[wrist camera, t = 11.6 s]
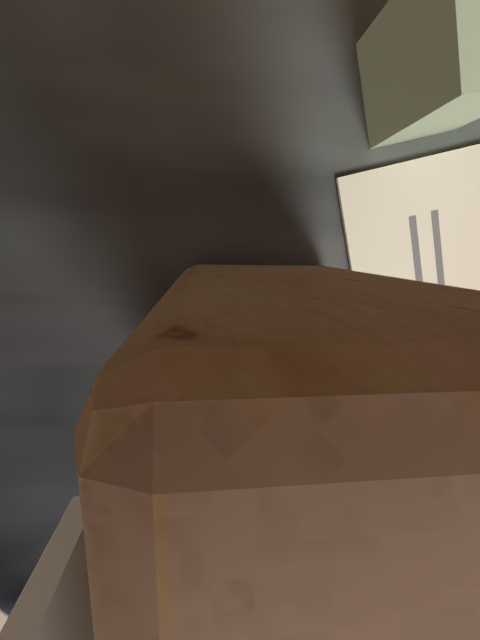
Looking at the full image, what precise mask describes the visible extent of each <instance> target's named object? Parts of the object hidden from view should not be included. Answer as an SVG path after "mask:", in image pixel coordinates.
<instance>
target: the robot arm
mask: <svg viewBox="0 0 480 640" xmlns="http://www.w3.org/2000/svg"><path fill="white" fill-rule="evenodd" d="M0 640H94V630H93V620H92V610H91V600H90V590H89V581H88V571H87V561H86V551H85V541H84V531H83V522H82V512H81V502H80V495H79V496H76V497H73V498H72V500H71V502H70V503H69V505H68V507H67V509H66V511H65V513H64V515H63V517H62V518H61V520H60V522H59V524H58V526H57V528H56V530H55V531H54V533H53V535H52V537H51V539H50V541H49V543H48V544H47V546H46V548H45V550H44V552H43V554H42V556H41V557H40V559H39V561H38V563H37V565H36V567H35V569H34V570H33V572H32V574H31V576H30V578H29V580H28V582H27V584H26V585H25V587H24V589H23V591H22V593H21V595H20V597H19V598H18V600H17V602H16V604H15V606H14V608H13V610H12V611H11V613H10V615H9V617H8V619H7V621H6V623H5V624H4V626H3V628H2V630H1V632H0Z"/></svg>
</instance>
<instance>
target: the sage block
mask: <svg viewBox="0 0 480 640" xmlns="http://www.w3.org/2000/svg"><path fill="white" fill-rule="evenodd" d="M356 49H357V57H358V64H359V72H360V79H361V87H362V95H363V102H364V110H365V117H366V125H367V133H368V140H369V148H370V149H373V148H377V147H381V146H386V145H390V144H394V143H398V142H403V141H407V140H411V139H415V138H420V137H424V136H428V135H433V134H437V133H441V132H445V131H450V130H454V129H457V128H459V127H461V126H463V125H466V124H468V123H470V122H472V121H474V120H476V119H478V118H480V0H389V1H388V2H387V3H386V5H385V6H384V7H383V9H382V10H381V11H380V13H379V14H378V15H377V17H376V18H375V19H374V21H373V22H372V23H371V25H370V26H369V27H368V29H367V30H366V31H365V33H364V34H363V35H362V37H361V38H360V40H359V41H358V42H357V44H356Z"/></svg>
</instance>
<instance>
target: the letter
mask: <svg viewBox="0 0 480 640" xmlns="http://www.w3.org/2000/svg"><path fill="white" fill-rule="evenodd" d="M336 184H337V190H338V197H339V203H340V209H341V216H342V222H343V228H344V235H345V241H346V247H347V254H348V260H349V266H350V270H351V271H358V272H364V273H371V274H377V275H383V276H390V277H396V278H403V279H409V280H416V281H422V282H428V283H435V284H441V285H448V286H454V287H460V288H467V289H473V290H480V144H477V145H473V146H468V147H464V148H460V149H456V150H452V151H447V152H443V153H439V154H435V155H431V156H427V157H422V158H418V159H414V160H410V161H406V162H401V163H397V164H393V165H389V166H385V167H380V168H376V169H372V170H368V171H364V172H360V173H355V174H351V175H347V176H343V177H339V178H336Z"/></svg>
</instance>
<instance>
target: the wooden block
mask: <svg viewBox="0 0 480 640" xmlns="http://www.w3.org/2000/svg"><path fill="white" fill-rule="evenodd" d="M74 443H75V453H76V462H77V472H78V482H79V492H80V502H81V512H82V522H83V531H84V541H85V551H86V561H87V571H88V581H89V590H90V600H91V610H92V620H93V630H94V640H480V290H473V289H467V288H460V287H454V286H448V285H441V284H435V283H428V282H422V281H416V280H409V279H403V278H396V277H390V276H383V275H377V274H371V273H364V272H358V271H351V270H345V269H339V268H332V267H326V266H316V265H194V266H192V267H190V268H187V269H185V270H184V272H183V273H182V274H181V275H180V276H179V278H178V279H177V280H176V281H175V282H174V283H173V285H172V286H171V287H170V288H169V289H168V291H167V292H166V293H165V294H164V295H163V296H162V298H161V299H160V300H159V301H158V302H157V304H156V305H155V306H154V307H153V308H152V309H151V311H150V312H149V313H148V314H147V315H146V317H145V318H144V319H143V320H142V321H141V322H140V324H139V325H138V326H137V327H136V328H135V330H134V331H133V332H132V333H131V334H130V335H129V337H128V338H127V339H126V340H125V341H124V343H123V344H122V345H121V346H120V347H119V348H118V350H117V351H116V352H115V353H114V354H113V356H112V357H111V358H110V359H109V360H108V361H107V363H106V364H105V365H104V366H103V367H102V369H101V370H100V371H99V372H98V373H97V374H96V377H95V380H94V382H93V385H92V388H91V390H90V393H89V396H88V398H87V401H86V404H85V407H84V409H83V412H82V415H81V417H80V420H79V423H78V425H77V428H76V431H75V434H74Z"/></svg>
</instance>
